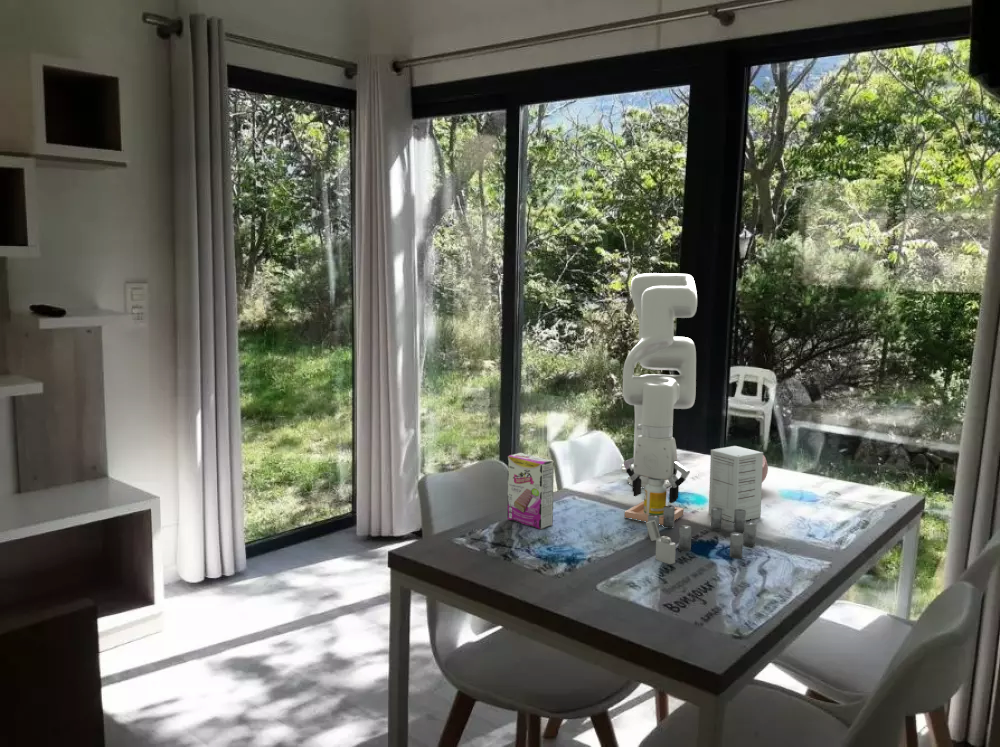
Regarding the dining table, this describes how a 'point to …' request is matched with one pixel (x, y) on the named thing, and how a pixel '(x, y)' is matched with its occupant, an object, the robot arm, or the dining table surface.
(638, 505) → the dish
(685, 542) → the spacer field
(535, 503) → the candy bar box
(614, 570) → the dining table surface
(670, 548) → the lighter
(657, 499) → the supplement bottle
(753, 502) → the supplement box
